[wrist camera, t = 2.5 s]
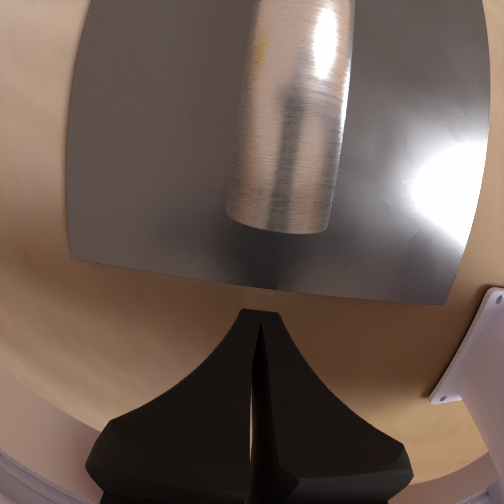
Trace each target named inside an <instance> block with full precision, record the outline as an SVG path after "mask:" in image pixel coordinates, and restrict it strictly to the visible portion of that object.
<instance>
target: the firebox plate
mask: <svg viewBox="0 0 504 504" xmlns="http://www.w3.org/2000/svg"><path fill="white" fill-rule="evenodd" d="M253 3H254V0H92V3H91V6H90V9H89V12H88V16H87V19H86V23H85V27H84V30H83V34H82V38H81V43H80V47H79V52H78V57H77V62H76V67H75V73H74V79H73V85H72V92H71V100H70V109H69V119H68V132H67V151H66V198H67V218H68V231H69V241H70V250H71V258H73V259H78V260H84V261H89V262H95V263H100V264H106V265H111V266H117V267H123V268H129V269H135V270H141V271H147V272H153V273H159V274H166V275H172V276H179V277H185V278H192V279H199V280H206V281H213V282H220V283H227V284H234V285H242V286H249V287H257V288H265V289H273V290H281V291H290V292H298V293H307V294H316V295H325V296H335V297H345V298H355V299H365V300H376V301H388V302H400V303H412V304H426V305H441V306H444V304H445V302H446V299H447V297H448V294H449V292H450V289H451V287H452V284H453V281H454V279H455V276H456V273H457V270H458V267H459V265H460V262H461V259H462V256H463V252H464V249H465V246H466V243H467V239H468V236H469V232H470V229H471V225H472V221H473V217H474V213H475V209H476V205H477V200H478V196H479V191H480V186H481V181H482V175H483V169H484V163H485V156H486V148H487V139H488V128H489V114H490V60H489V46H488V36H487V28H486V21H485V14H484V9H483V3H482V0H355V13H354V33H353V47H352V60H351V71H350V81H349V91H348V100H347V108H346V116H345V124H344V131H343V138H342V145H341V152H340V158H339V164H338V170H337V176H336V182H335V188H334V193H333V199H332V204H331V210H330V215H329V220H328V225H327V228H326V230H324V231H322V232H319V233H312V234H292V233H282V232H274V231H269V230H264V229H259V228H255V227H251V226H248V225H245V224H242V223H240V222H237V221H235V220H233V219H232V218H230V217H229V216H228V215H227V213H226V210H227V200H228V191H229V181H230V172H231V163H232V154H233V146H234V137H235V129H236V121H237V113H238V105H239V98H240V90H241V83H242V75H243V68H244V61H245V54H246V48H247V41H248V34H249V28H250V22H251V15H252V9H253Z"/></svg>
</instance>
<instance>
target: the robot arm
mask: <svg viewBox="0 0 504 504" xmlns="http://www.w3.org/2000/svg"><path fill="white" fill-rule="evenodd" d="M251 389H252V426H253V428H252V447H251V458H250V402H251ZM428 400H429V402H430V404H440V403H446V402H452V401H457V400H463V401H464V403H465V405H466V407H467V409H468V411H469V412H470V414H471V416H472V418H473V420H474V422H475V424H476V426H477V428H478V430H479V432H480V434H481V436H482V438H483V440H484V442H485V444H486V446H487V448H488V450H489V453H490V455H491V457H492V459H493V461H494V464H495V466H496V468H497V471H498V473H499V476H500V478H498V479H497V480H496V481H494V482H493V483H491V484H490V485H489V486H488V487H487V488H486V489H484V490H482V491H480V492H478V493H476V494H474V495H472V496H470V497H468V498H466V499H463V500H461V501H459V502H456V503H454V504H504V288H497V287H492V288H490V289H489V290H488V291H487V292H486V294H485V296H484V298H483V300H482V303H481V305H480V307H479V310H478V312H477V314H476V316H475V318H474V320H473V322H472V324H471V326H470V328H469V330H468V332H467V334H466V336H465V338H464V340H463V342H462V344H461V346H460V348H459V349H458V351H457V353H456V355H455V357H454V358H453V360H452V362H451V363H450V365H449V367H448V368H447V370H446V372H445V373H444V375H443V377H442V378H441V380H440V381H439V383H438V384H437V386H436V387H435V389H434V390H433V392H432V393H431V395H430V396H429V398H428ZM85 468H86V470H87V472H88V474H89V475H90V477H91V478H92V479H93V480H94V481H95V483H96V484H97V485H98V486H99V487H100V488H101V489H102V490H103V491H104V493H103V496H102V498H101V501H100V504H245V502H246V504H388V502H387V501H388V500H389V499H391V498H392V497H393V496H395V495H396V494H397V493H399V492H400V491H401V490H402V489H404V488H405V487H406V486H407V485H408V484H409V483H410V482H411V480H412V478H413V476H414V474H413V471H412V468H411V464H410V460H409V457H408V454H407V452H406V450H405V447H404V445H403V444H402V443H400V442H399V441H397V440H395V439H393V438H392V437H390V436H388V435H386V434H385V433H383V432H381V431H380V430H378V429H376V428H375V427H373V426H372V425H371V424H369V423H368V422H366V421H365V420H364V419H362V418H361V417H359V416H358V415H357V414H356V413H354V412H353V411H352V410H351V409H349V408H348V407H347V406H346V405H345V404H344V403H343V402H342V401H340V400H339V399H338V398H337V397H336V396H335V395H334V394H333V393H332V392H331V391H330V390H329V389H328V388H327V387H326V386H325V385H324V383H323V382H322V381H321V380H320V379H319V378H318V376H317V375H316V374H315V373H314V371H313V370H312V369H311V367H310V366H309V365H308V363H307V362H306V361H305V359H304V358H303V356H302V355H301V353H300V352H299V350H298V348H297V347H296V345H295V343H294V342H293V340H292V338H291V337H290V335H289V333H288V331H287V329H286V327H285V325H284V323H283V321H282V319H281V316H280V315H279V314H278V313H276V312H267V311H259V310H251V309H242V310H240V312H239V315H238V317H237V319H236V321H235V322H234V324H233V326H232V327H231V329H230V330H229V332H228V333H227V334H226V336H225V337H224V338H223V340H222V341H221V342H220V344H219V345H218V346H217V347H216V348H215V349H214V351H213V352H212V353H211V354H210V355H209V356H208V357H207V358H206V359H205V360H204V361H203V362H202V363H201V364H200V365H199V366H198V367H197V368H196V369H195V370H194V371H193V372H191V373H190V374H189V375H188V376H187V377H185V378H184V379H183V380H182V381H180V382H179V383H178V384H176V385H175V386H174V387H172V388H171V389H169V390H168V391H166V392H165V393H163V394H162V395H160V396H158V397H157V398H155V399H153V400H152V401H150V402H148V403H147V404H145V405H143V406H141V407H139V408H137V409H135V410H133V411H130V412H128V413H126V414H124V415H122V416H119V417H117V418H115V419H112V420H110V421H109V422H108V424H107V425H106V427H105V428H104V429H103V431H102V432H101V434H100V436H99V437H98V438H97V440H96V442H95V444H94V446H93V448H92V450H91V453H90V455H89V457H88V459H87V461H86V464H85ZM0 504H97V503H95V502H92V501H89V500H88V499H85V498H83V497H81V496H79V495H77V494H75V493H72V492H70V491H68V490H66V489H64V488H62V487H60V486H59V485H57V484H55V483H53V482H51V481H49V480H48V479H46V478H44V477H42V476H41V475H39V474H37V473H35V472H34V471H32V470H31V469H29V468H27V467H26V466H24V465H23V464H21V463H20V462H18V461H16V460H15V459H14V458H12V457H11V456H9V455H8V454H7V453H5V452H4V451H2V450H1V449H0Z"/></svg>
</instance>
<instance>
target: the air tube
mask: <svg viewBox="0 0 504 504" xmlns="http://www.w3.org/2000/svg"><path fill="white" fill-rule="evenodd" d="M354 13H355V0H254V3H253V9H252V15H251V22H250V28H249V34H248V41H247V48H246V54H245V61H244V68H243V75H242V83H241V90H240V98H239V105H238V113H237V121H236V129H235V137H234V146H233V154H232V163H231V172H230V181H229V191H228V200H227V210H226V213H227V215H228V216H229V217H230V218H232V219H233V220H235V221H237V222H240V223H242V224H245V225H248V226H251V227H255V228H259V229H264V230H269V231H274V232H282V233H292V234H312V233H319V232H322V231H324V230H326V228H327V225H328V220H329V215H330V210H331V204H332V199H333V193H334V188H335V182H336V176H337V170H338V164H339V158H340V152H341V145H342V138H343V131H344V124H345V116H346V108H347V100H348V91H349V81H350V71H351V60H352V47H353V33H354Z"/></svg>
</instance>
